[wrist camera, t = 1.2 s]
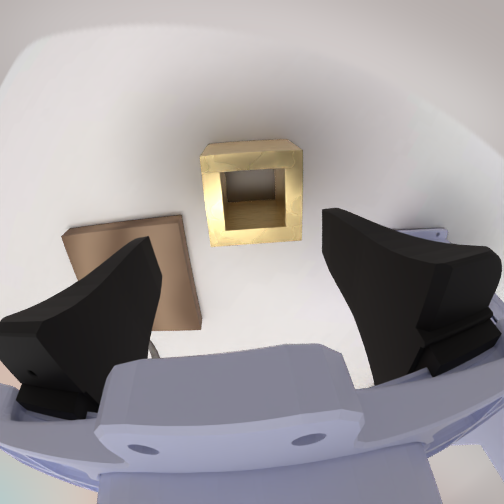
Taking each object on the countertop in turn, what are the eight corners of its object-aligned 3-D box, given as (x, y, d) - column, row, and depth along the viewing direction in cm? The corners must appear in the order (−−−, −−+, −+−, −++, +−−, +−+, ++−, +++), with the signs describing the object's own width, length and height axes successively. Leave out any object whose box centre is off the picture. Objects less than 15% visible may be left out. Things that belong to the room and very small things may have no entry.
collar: (287, 139, 19) (302, 150, 14) (288, 210, 21) (301, 240, 17) (208, 144, 19) (199, 156, 14) (215, 215, 21) (210, 246, 17)
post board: (181, 215, 21) (164, 254, 16) (202, 319, 27) (196, 367, 22) (69, 228, 21) (34, 264, 16) (105, 320, 26) (87, 362, 21)
